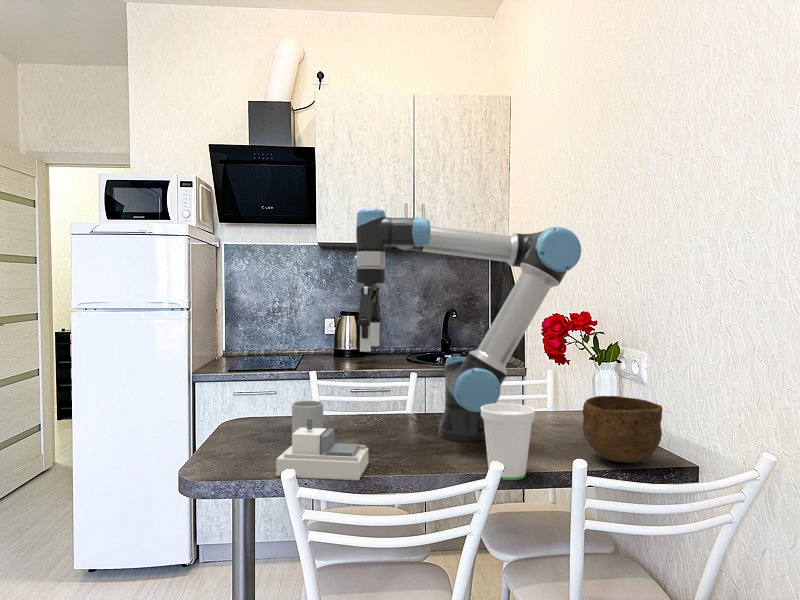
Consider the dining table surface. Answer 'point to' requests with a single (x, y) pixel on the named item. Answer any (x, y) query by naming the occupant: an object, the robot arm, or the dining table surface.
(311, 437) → the plug
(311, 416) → the mug
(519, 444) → the cup
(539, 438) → the dining table surface
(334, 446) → the grey l-shaped bracket
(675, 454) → the dining table surface
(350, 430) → the dining table surface
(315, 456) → the cream railed base block
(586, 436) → the bowl
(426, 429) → the dining table surface
